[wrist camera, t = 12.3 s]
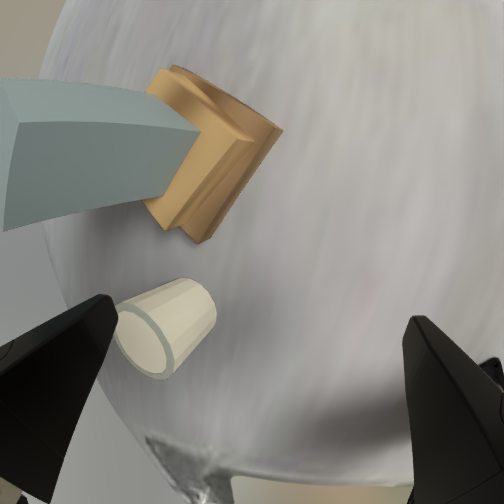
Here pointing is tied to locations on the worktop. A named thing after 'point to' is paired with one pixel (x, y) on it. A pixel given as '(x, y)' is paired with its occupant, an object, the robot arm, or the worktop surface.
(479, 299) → the worktop surface
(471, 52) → the worktop surface
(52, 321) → the robot arm
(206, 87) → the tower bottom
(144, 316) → the shot glass
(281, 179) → the worktop surface
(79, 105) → the tall block
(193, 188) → the tower top
